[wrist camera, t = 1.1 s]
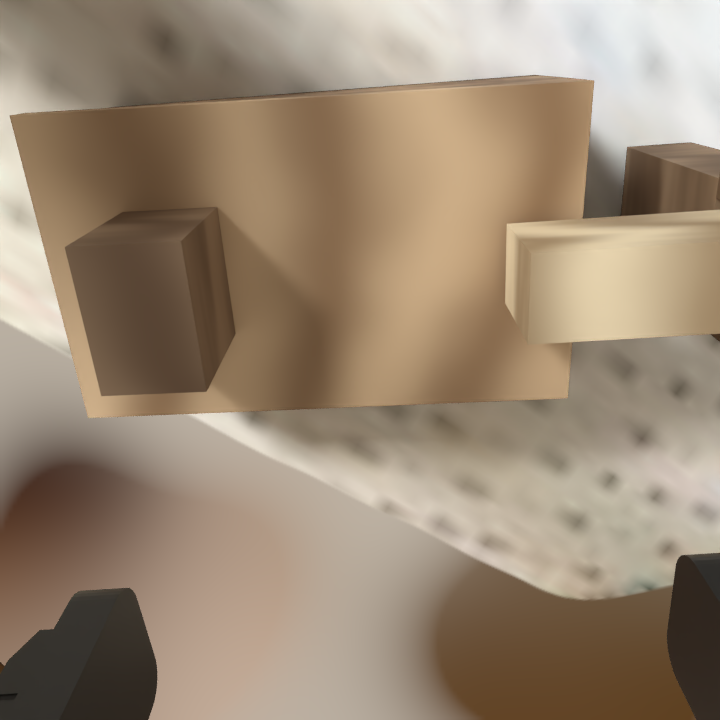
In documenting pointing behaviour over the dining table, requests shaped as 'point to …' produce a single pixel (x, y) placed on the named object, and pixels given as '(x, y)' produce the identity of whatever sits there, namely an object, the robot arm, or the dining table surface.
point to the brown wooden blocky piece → (643, 163)
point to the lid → (303, 245)
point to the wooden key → (614, 277)
